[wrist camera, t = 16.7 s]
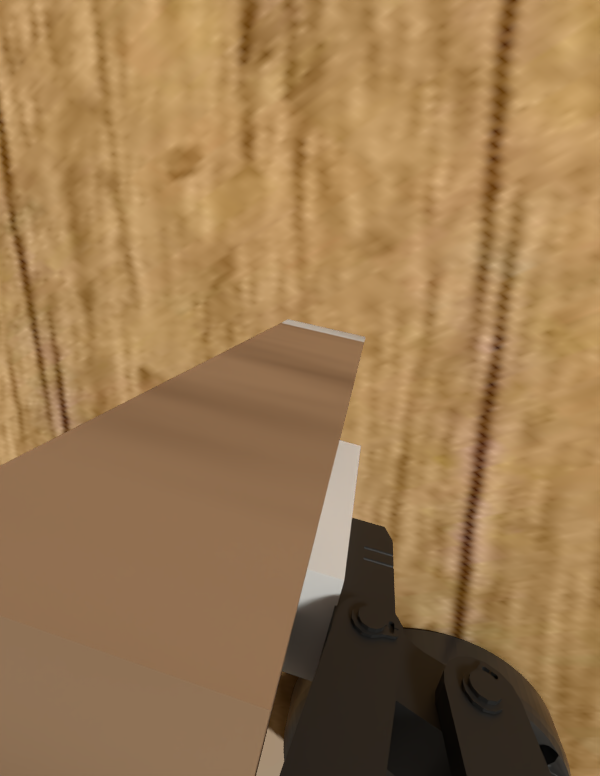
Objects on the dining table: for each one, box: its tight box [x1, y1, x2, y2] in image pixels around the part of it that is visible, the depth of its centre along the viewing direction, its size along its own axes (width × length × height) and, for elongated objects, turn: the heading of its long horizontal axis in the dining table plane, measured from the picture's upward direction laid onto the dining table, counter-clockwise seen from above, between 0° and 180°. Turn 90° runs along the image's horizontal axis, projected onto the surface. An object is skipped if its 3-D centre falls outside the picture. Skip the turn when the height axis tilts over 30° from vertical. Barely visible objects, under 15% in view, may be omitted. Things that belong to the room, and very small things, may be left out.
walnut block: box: [0, 319, 365, 776], centre depth 10 cm, size 9×3×14 cm, turn 169°
